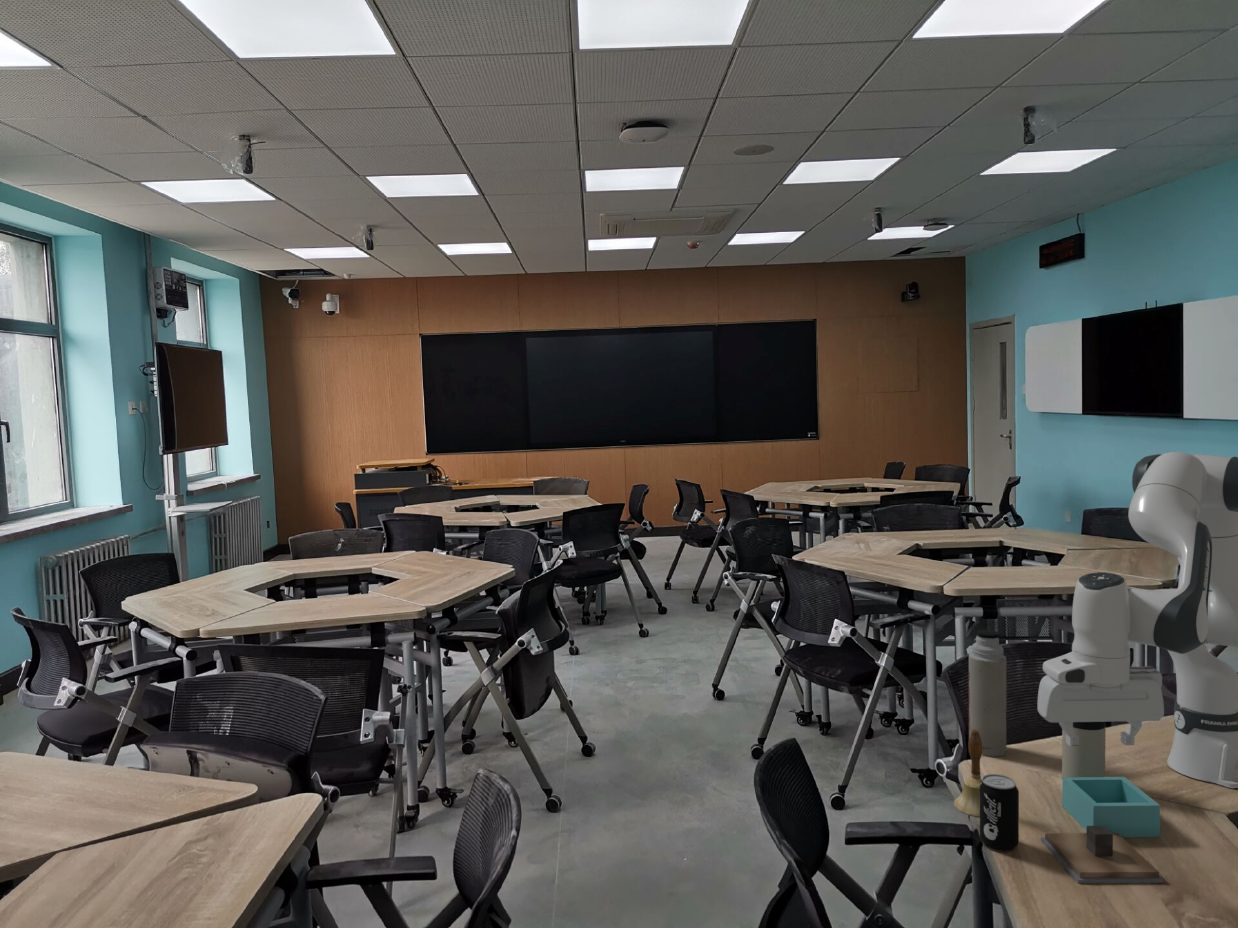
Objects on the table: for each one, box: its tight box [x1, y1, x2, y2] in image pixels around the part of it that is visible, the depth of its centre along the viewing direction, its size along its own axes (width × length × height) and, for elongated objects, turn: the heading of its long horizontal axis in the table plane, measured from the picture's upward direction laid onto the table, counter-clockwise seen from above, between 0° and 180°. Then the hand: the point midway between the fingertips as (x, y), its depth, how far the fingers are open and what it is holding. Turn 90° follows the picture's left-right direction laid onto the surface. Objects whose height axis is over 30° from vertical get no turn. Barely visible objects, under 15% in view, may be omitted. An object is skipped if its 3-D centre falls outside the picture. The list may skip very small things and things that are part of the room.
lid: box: [1044, 826, 1160, 878], centre depth 149 cm, size 13×13×5 cm
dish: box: [1061, 776, 1161, 838], centre depth 163 cm, size 12×12×6 cm
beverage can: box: [979, 773, 1020, 852], centre depth 156 cm, size 7×7×12 cm
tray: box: [1040, 836, 1164, 884], centre depth 150 cm, size 14×14×1 cm
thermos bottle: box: [968, 629, 1007, 758], centre depth 196 cm, size 8×8×28 cm
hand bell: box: [953, 730, 983, 818], centre depth 170 cm, size 8×8×16 cm
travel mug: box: [1061, 722, 1107, 781], centre depth 178 cm, size 8×8×18 cm
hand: (1099, 744), depth 148 cm, fingers open, 8 cm apart
